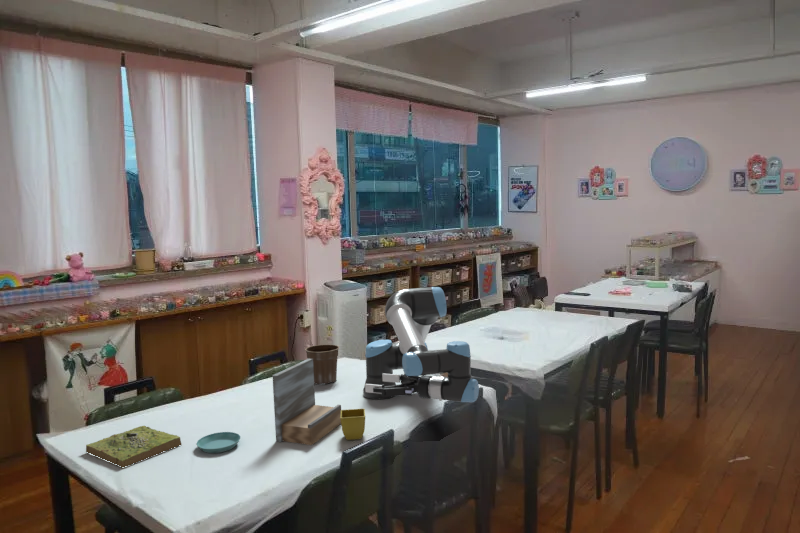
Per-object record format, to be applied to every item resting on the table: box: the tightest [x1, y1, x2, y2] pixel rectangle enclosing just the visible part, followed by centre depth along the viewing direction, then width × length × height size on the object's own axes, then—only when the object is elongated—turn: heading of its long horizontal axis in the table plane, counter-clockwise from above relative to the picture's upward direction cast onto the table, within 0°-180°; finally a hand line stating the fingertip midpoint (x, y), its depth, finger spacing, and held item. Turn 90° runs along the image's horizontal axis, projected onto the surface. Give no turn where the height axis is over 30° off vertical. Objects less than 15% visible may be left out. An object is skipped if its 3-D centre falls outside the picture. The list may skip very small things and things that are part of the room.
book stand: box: [271, 358, 342, 446], centre depth 214 cm, size 14×24×24 cm, turn 157°
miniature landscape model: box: [85, 425, 182, 467], centre depth 203 cm, size 22×24×5 cm
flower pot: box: [340, 408, 366, 441], centre depth 207 cm, size 9×9×9 cm
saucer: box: [195, 431, 241, 454], centre depth 203 cm, size 15×15×3 cm
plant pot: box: [304, 344, 340, 385], centre depth 278 cm, size 16×16×16 cm
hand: (374, 382), depth 202 cm, fingers open, 13 cm apart
